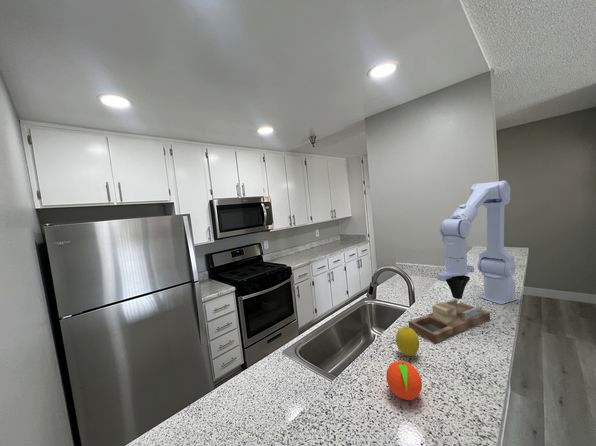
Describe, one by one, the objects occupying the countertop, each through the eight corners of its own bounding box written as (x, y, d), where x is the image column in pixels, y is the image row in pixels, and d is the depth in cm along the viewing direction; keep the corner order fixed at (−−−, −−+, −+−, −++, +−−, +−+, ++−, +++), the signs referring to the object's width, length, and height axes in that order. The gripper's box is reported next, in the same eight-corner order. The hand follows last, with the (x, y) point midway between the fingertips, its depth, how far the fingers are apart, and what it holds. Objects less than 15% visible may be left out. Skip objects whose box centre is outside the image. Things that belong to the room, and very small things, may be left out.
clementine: (428, 416, 45) (426, 381, 44) (389, 410, 47) (387, 377, 46) (418, 384, 52) (417, 354, 52) (385, 380, 54) (383, 351, 54)
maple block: (442, 313, 77) (442, 301, 76) (456, 319, 72) (456, 306, 72) (433, 317, 75) (432, 305, 75) (446, 323, 71) (446, 310, 70)
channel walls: (455, 305, 81) (454, 298, 81) (480, 314, 74) (480, 307, 74) (440, 310, 78) (439, 303, 78) (465, 321, 71) (465, 313, 71)
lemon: (422, 363, 59) (421, 332, 58) (399, 362, 60) (397, 332, 59) (416, 349, 64) (414, 321, 63) (394, 348, 65) (393, 321, 65)
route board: (461, 309, 83) (461, 302, 83) (490, 319, 75) (489, 312, 75) (408, 329, 74) (408, 321, 74) (435, 343, 66) (434, 335, 65)
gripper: (458, 250, 81) (459, 289, 82) (427, 258, 75) (430, 299, 76) (480, 254, 74) (481, 295, 75) (449, 262, 69) (451, 307, 70)
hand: (457, 297), depth 75 cm, fingers closed
